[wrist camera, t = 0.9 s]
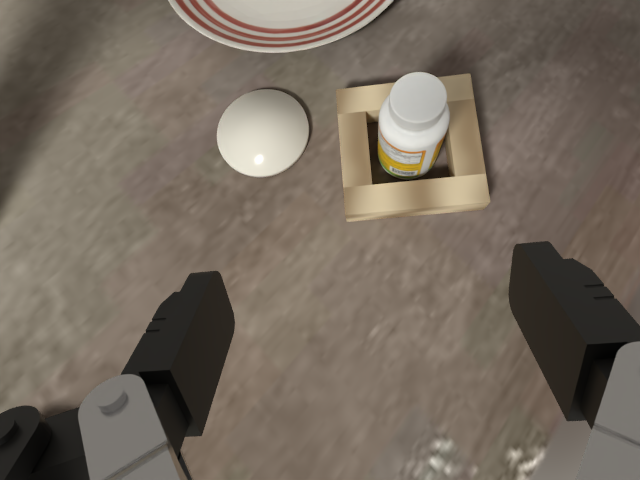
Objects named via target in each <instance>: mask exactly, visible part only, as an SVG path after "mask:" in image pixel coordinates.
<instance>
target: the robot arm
mask: <svg viewBox="0 0 640 480" xmlns="http://www.w3.org/2000/svg"><path fill="white" fill-rule="evenodd" d="M509 302H510V307H511V310H512V313H513V315H514V317H515V319H516V321H517V323H518V325H519V327H520V329H521V331H522V333H523V335H524V337H525V339H526V341H527V343H528V345H529V347H530V349H531V351H532V353H533V355H534V357H535V359H536V361H537V363H538V365H539V367H540V369H541V371H542V373H543V375H544V377H545V379H546V381H547V383H548V384H549V386H550V388H551V390H552V392H553V394H554V396H555V398H556V400H557V402H558V404H559V406H560V408H561V410H562V412H563V414H564V416H565V418H566V420H567V421H582V420H587V422H588V424H589V426H590V428H591V429H592V431H591V435H590V437H589V441H588V444H587V447H586V450H585V453H584V456H583V459H582V462H581V465H580V468H579V472H578V475H577V478H576V480H640V326H639V324H638V323H637V322H636V321H635V320H634V319H633V317H631V315H630V314H629V313H628V312H627V310H626V309H625V308H624V307H623V306H622V305H621V303H620V302H619V301H618V300H617V299H614V295H613V294H612V293H611V292H610V291H609V289H608V288H607V287H604V284H603V282H602V281H601V280H600V279H599V278H598V277H597V275H596V274H595V273H594V272H593V271H592V270H591V269H590V268H588V267H586V266H584V265H583V264H581V263H579V262H578V261H576V260H574V259H573V258H572V259H563V258H562V257H561V256H560V255H559V253H558V252H557V251H556V249H555V248H554V247H553V246H552V244H551V243H550V242H548V241H544V242H533V243H522V244H516V245H515V247H514V250H513V257H512V266H511V275H510V284H509ZM234 327H235V321H234V313H233V310H232V307H231V304H230V301H229V298H228V295H227V292H226V289H225V286H224V283H223V280H222V277H221V275H220V273H219V272H218V271H210V272H199V273H191V274H190V275H189V276H188V278H187V280H186V281H185V283H184V285H183V287H182V289H181V291H180V292H174V293H173V294H171V295H170V296H169V297H168V298H167V299H166V300H165V301H164V302H163V303H162V304H161V305H160V306H159V308H158V309H157V311H156V313H155V315H154V317H153V318H152V322H150V324H149V325H148V327H147V329H146V333H144V334H143V336H142V338H141V340H140V341H139V343H138V345H137V347H136V348H135V350H134V352H133V354H132V355H131V357H130V359H129V361H128V363H127V364H126V366H125V368H124V370H123V371H122V373H121V375H119V376H116V377H113V378H110V379H108V380H106V381H104V382H103V383H101V384H100V385H98V386H97V387H96V388H94V389H93V390H92V391H91V392H90V393H89V394H88V395H87V396H86V398H85V399H84V400H83V402H82V404H81V406H80V407H79V408H76V409H73V410H70V411H67V412H64V413H61V414H58V415H55V416H52V417H48V418H45V419H44V418H43V416H42V415H41V414H40V412H39V411H38V410H37V409H36V408H35V407H32V406H19V407H15V408H12V409H9V410H7V411H5V412H3V413H1V414H0V480H194V479H193V477H192V475H191V472H190V470H189V467H188V465H187V463H186V460H185V458H184V456H183V454H182V452H181V450H180V449H181V447H182V444H183V441H184V438H185V437H190V436H202V433H203V430H204V427H205V424H206V421H207V417H208V414H209V411H210V408H211V404H212V401H213V398H214V395H215V392H216V388H217V385H218V382H219V379H220V376H221V372H222V369H223V366H224V363H225V360H226V356H227V353H228V350H229V347H230V343H231V340H232V337H233V334H234Z"/></svg>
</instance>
